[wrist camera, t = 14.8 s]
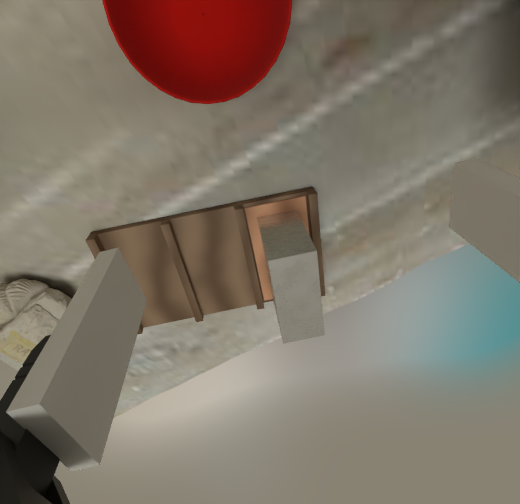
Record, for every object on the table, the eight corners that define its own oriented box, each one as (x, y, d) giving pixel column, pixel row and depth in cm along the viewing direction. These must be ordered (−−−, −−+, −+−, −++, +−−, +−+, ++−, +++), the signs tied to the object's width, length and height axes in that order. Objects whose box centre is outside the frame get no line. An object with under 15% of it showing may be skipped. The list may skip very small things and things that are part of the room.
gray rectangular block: (296, 209, 42) (316, 250, 33) (305, 284, 48) (324, 334, 39) (256, 217, 42) (267, 260, 33) (271, 291, 48) (283, 343, 39)
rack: (312, 186, 42) (316, 193, 40) (321, 286, 50) (325, 295, 48) (91, 231, 41) (85, 240, 39) (138, 324, 50) (135, 334, 48)
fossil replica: (12, 256, 42) (-1, 306, 47) (-38, 300, 35) (-47, 354, 40) (106, 294, 46) (85, 337, 50) (78, 341, 39) (57, 387, 43)
